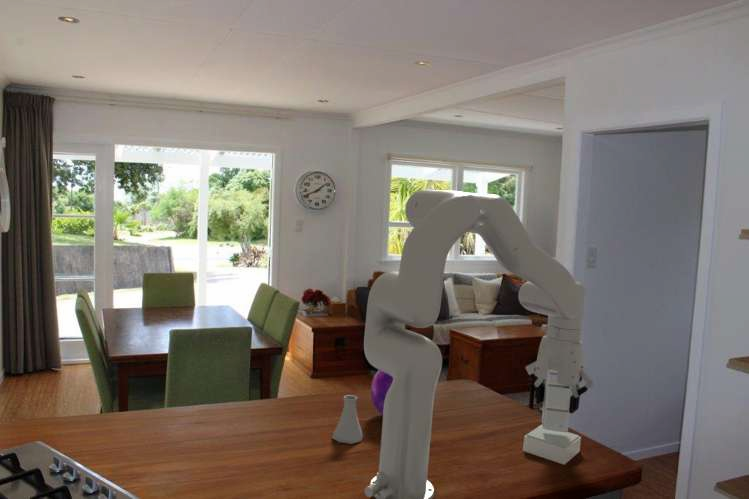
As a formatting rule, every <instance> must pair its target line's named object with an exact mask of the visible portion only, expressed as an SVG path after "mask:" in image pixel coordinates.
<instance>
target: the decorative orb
mask: <svg viewBox="0 0 749 499" xmlns="http://www.w3.org/2000/svg"><path fill="white" fill-rule="evenodd" d="M392 382H393V377H392V376H390V375H388V374H387V373H385V372H383V371H381V370H379V369H378V370H377V372H376V374H375V375H374V376H373V378H372V380H371V385H370V397H371V400H372V404H373V405H374V407H375V409H376V410H377V411H378V413H380V414H381V415H382V416H383V408H384V400H385V397H386V394H387V392H388V390H389V388H390V386H391V384H392Z"/></svg>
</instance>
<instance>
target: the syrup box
mask: <svg viewBox="0 0 749 499" xmlns="http://www.w3.org/2000/svg"><path fill="white" fill-rule="evenodd" d="M557 376H558V370H556V369H548V371H547V380H545V382H544V385H545V389H544V400H543V402H542V413H541V414H542V415H541V423H542V424H541V425H543V429H546V430H552V431H559V432H568V431H569V423H570V414H571V413H570V412H569V406H570V397H571V396H572V391H571V386H566V385H562V384H559V383H557Z"/></svg>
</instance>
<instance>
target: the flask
mask: <svg viewBox="0 0 749 499" xmlns="http://www.w3.org/2000/svg"><path fill="white" fill-rule="evenodd" d="M357 400H358V396H356V395H354V394H353V395H352V394H347V395H344V396H343V401H344V404H343V409H342V413H341V416H340V418H339V420H338V423H337V425H336V427H335V429H334V432H333V433H332V436H331V439H333V440H335V441H336V442H338V443H342V444H349V445H353V444H356V443H360V442H361V441H362V440H363V438H364V434H363V431H362V427H361V424H360V422H359V418H358V413H357Z"/></svg>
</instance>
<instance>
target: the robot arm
mask: <svg viewBox="0 0 749 499" xmlns="http://www.w3.org/2000/svg"><path fill="white" fill-rule="evenodd" d="M404 211H405V212H404V214H405V217H406V219H407V221H408V224H410V225H411V226H412V227H413V228H412V230H410V232H409V234H408V236H407V237H406V239H405V241H404V244H403V248H402V251H401V257H400V264H399V270H398V271H397V270H396V271H393V270H391V271H387V272H384V273H382V274H380V275H379V276H378V277H377V278H376V280H374V282H373V284H372V286H371V287H370V290H369V293H368V298H367V304H366V316H365V324H364V325H365V327H364V336H363V350H364V356H365V358H366V360H367V362H368V364H370V365H371V366H372V367H373V368H375V369H376V370H378V371H379V370H381V371H383V372H385V373H387V374H388V375H390V376H392V377H393V382H392V384H391V386H390V388H389V390H388V392H387V394H386V397H385V400H384V408H383V415H382V425H381V426H382V427H381V439H380V450H379V452H380V453H379V462H378V464H379V465H378V472H377V473H376V476H373V478H372V479H371V480H370V482H369V485H368V486H366V487H365V488H364V493H365V496H366V497H367V498H372V497H373V498H374V499H434V495H435V488H434V486H433V484H432V483H431V482H430V481H429V480H428V471H429V459H430V448H431V447H430V446H431V436H432V426H433V425H432V424H433V413H434V412H433V411H434V402H435V394H436V388H437V385H438V381H439V378H440V374H441V372H442V366H443V355H442V353H441V349H440V347H439V346H438V345H437V344H436V343H435V342H434V341H433V340H432V339H430V338H428V337H427V336H425V335H423V334H420V333H417V332H415V331H412V330H410V329H409V330H408V329H406V325H407V326H410V327H413V328H417V329H418V328H419V329H425V328H428V327H431V326H432V325H434V324H435V323H436V322H437V319H438V317H439V315H440V311H441V310H440V309H441V305H442V304H441V303H442V297H443V296H442V294H443V286H444V278H445V277H444V276H445V268H446V263H447V259H448V255H449V252H450V251H451V249H452V248H453V246H454V245H455V244H456V242H457V241H459V239H461V238H462V237H463V236H464V235H465V234H467V233H468V234H469V233H471V234H477V235H479V237H481V238H482V240H483V242H484V243H485V245H486V246H487V248H488V249H489V251H490V252H491V253H492V255H493V257H494V258H495V260H496V261H497V263H498V264H499V265H500V266H501V267H502V268H503V269H504V270H507V271H508V272H509V273H511V274H512V275H514V276H517V277H518V278H520V279H522V280H525V281H526V282H524V283H523V284H522V285H521V286H520V288H519V290H518V301H519V304H520V305H521V306H522V307H523V308H524V309H526V310H527V311H530V312H532V313H537V314H540V315H544V316H548V318H547V323H546V324H542V325H541V328H540V329H541V331H544V332H545V335H543V336H542V337H541V341H540V343H539V347H538V352H537V358H536V360H535V361H534V362H532V363H530V364H528V365H526V366H525V370H526V372H527V374H528V375H529V378H530V380H531V381H532V383H534V384H533V385H534V387H535V393H534V399H536V400H535V404H536V405H540V404H543V400H544V389H545V380H547V371H548V369H556V370H558V376H557V383H559V384H562V385H566V386H571V397H570V406H569V412H570V414H571V415H572V414H574V413H575V412H576V411H578V410H579V407H580V400H581V399H580V398H581V395H583V394H585V393H586V392H588V391H589V390H590V389H591V388H592V387H593V386H595V385H596V381H595V380H594V379H593V378H592V376H590V375H589V374H588V373H587V371H586V370H585V368H584V365H585V360H584V359H585V355H584V344H583V341H581V336H582V335H581V334H582V326H583V325H582V324H583V317H584V315H583V314H584V306H585V296H586V295H585V294H586V286H585V285H584V284H583V283H581V282H579V281H576V280H575V278H574V277H573V276H572V274H571V273H570V271H569V270H568V269H567V268H566V267H565V266H564V265H563V264H562V263H561V262H559V261H558V260H557V259H556V258H554V257H553V256H552V255H551V254H549V253H548V252H547V251H545V249H543V248H542V247H540V246H539V245H537V244H536V243H535V242H534V241H533V239H532V237H531V235H530V234H529V232H528V231H527V229H526V227H525V226H524V224H523V223H522V221H521V219H520V218H519V216H518V214H517V213H516V211H515V210H514V208H513V206H512V205H511V204H510V202H509V201H508V200H507V199H506V198H505V197H503V196H502V195H497V194H494V193H493V194H492V193H490V194H489V193H478V192H477V193H476V192H464V191H461V190H449V189H445V190H444V189H443V190H442V189H426V188H423V189H419V190H417V191H415V192H413V193H412V194H411V195H410V196H409V198H408V199H407V200H406V204H405V208H404ZM583 381H584V382H585V384H584V385H583V386H582V387H581V386H580V383H581V382H583Z"/></svg>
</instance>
